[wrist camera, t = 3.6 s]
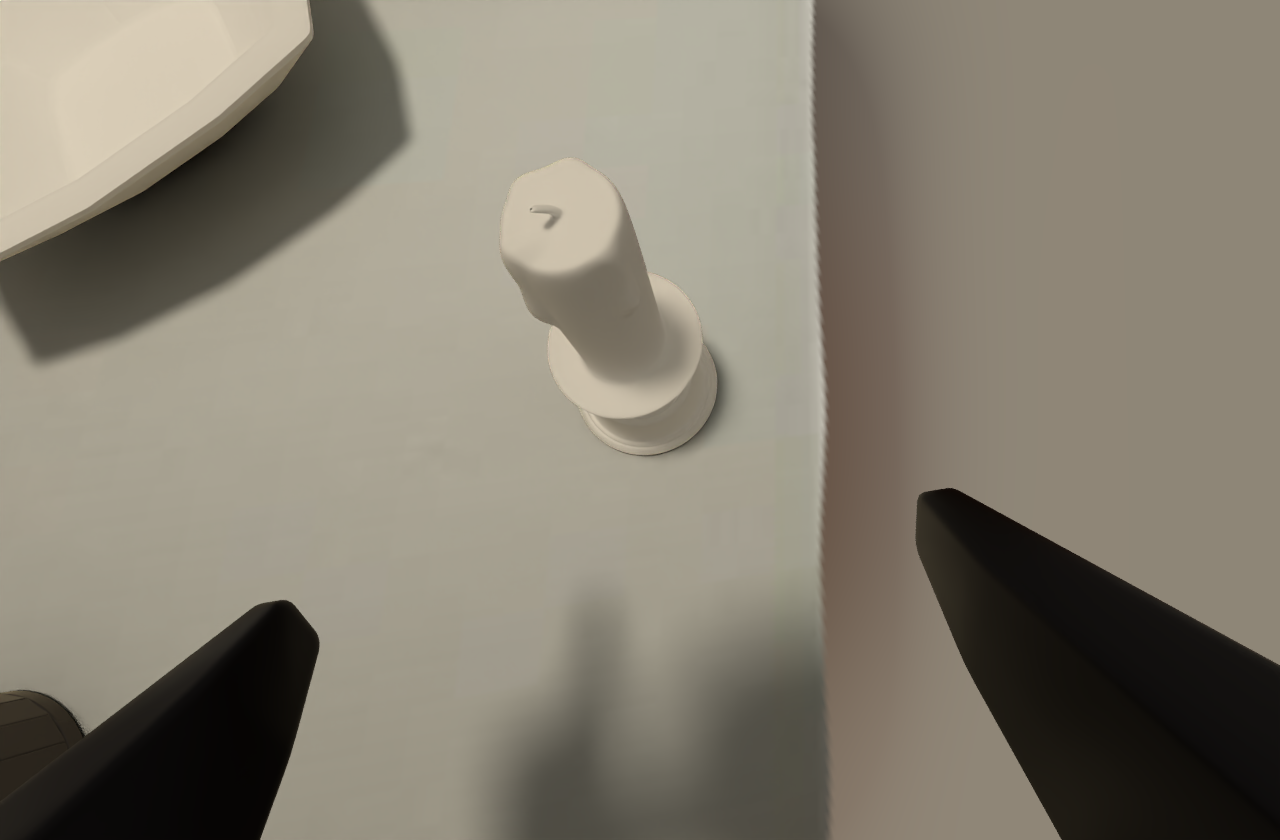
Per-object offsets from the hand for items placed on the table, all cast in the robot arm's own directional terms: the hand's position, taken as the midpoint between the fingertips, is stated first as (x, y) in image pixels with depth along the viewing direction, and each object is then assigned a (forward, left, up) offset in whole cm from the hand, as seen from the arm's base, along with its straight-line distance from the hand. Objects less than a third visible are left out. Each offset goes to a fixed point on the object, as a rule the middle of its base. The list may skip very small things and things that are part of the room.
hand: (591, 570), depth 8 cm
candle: (+6, 0, -13) cm, 14 cm away
